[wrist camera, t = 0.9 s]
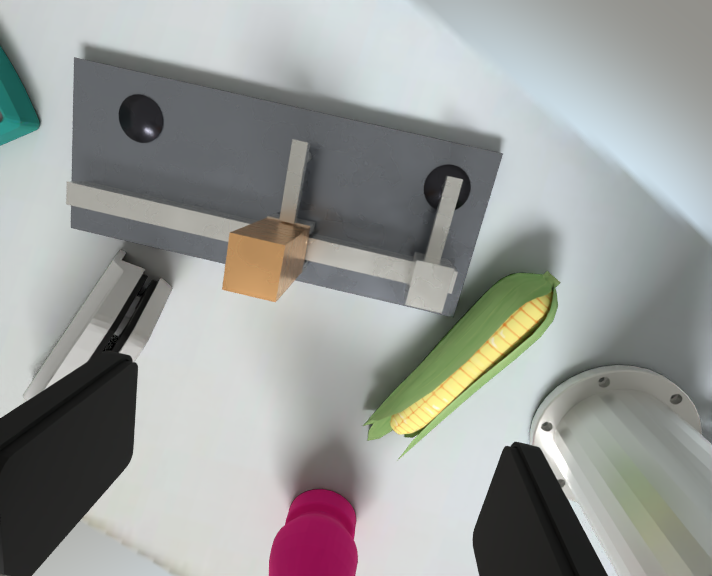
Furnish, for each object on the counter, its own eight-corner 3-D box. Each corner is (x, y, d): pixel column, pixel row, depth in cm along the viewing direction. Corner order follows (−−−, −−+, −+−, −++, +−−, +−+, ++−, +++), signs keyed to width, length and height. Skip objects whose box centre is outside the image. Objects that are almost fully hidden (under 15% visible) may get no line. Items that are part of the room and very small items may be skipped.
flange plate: (499, 154, 29) (503, 153, 28) (451, 312, 33) (453, 317, 32) (84, 60, 30) (73, 57, 29) (80, 226, 34) (69, 227, 32)
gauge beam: (478, 183, 29) (493, 186, 25) (445, 295, 31) (453, 316, 27) (87, 94, 30) (35, 82, 25) (83, 211, 32) (35, 218, 28)
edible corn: (566, 290, 32) (593, 310, 28) (390, 455, 37) (389, 493, 33) (516, 246, 31) (536, 259, 27) (345, 419, 37) (338, 454, 32)
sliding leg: (329, 147, 29) (303, 140, 21) (307, 267, 32) (275, 303, 23) (287, 138, 29) (243, 126, 21) (267, 258, 32) (221, 291, 23)
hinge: (122, 245, 34) (72, 311, 25) (178, 276, 36) (149, 347, 27) (30, 384, 38) (-40, 481, 29) (84, 405, 40) (33, 501, 32)
